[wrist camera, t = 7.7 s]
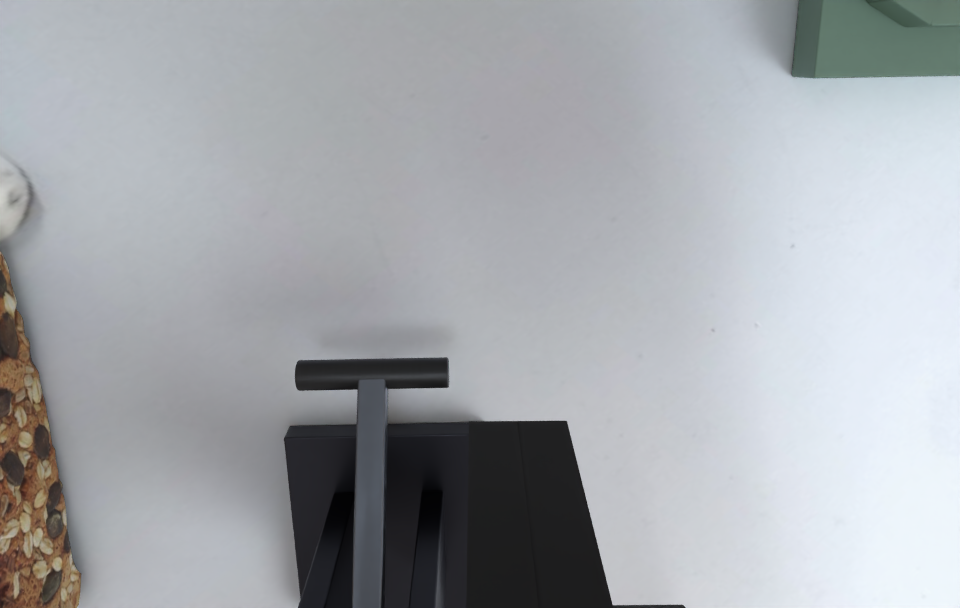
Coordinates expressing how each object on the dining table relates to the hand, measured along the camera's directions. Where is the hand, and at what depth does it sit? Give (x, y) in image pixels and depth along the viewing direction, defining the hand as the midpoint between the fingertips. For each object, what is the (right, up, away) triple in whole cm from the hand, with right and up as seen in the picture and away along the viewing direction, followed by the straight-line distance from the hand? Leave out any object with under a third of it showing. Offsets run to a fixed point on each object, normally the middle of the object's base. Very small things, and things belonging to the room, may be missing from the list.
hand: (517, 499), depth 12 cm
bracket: (-5, -7, +25) cm, 27 cm away
